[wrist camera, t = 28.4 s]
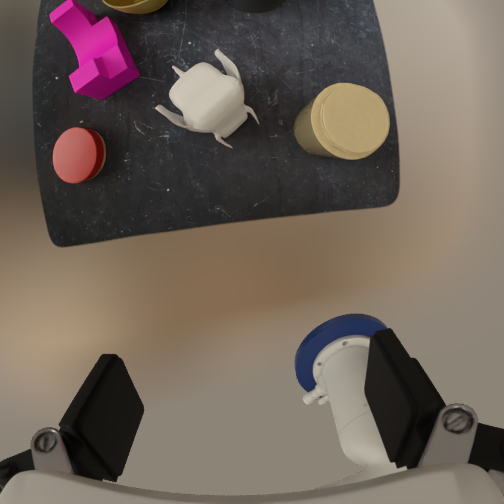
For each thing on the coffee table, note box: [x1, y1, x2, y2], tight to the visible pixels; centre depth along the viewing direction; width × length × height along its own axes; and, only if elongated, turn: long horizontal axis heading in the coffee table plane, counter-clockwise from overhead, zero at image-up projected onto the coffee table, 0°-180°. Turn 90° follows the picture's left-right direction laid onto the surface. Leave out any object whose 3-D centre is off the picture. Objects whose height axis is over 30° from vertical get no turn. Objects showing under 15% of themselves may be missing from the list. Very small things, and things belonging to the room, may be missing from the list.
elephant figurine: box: [155, 49, 259, 148], centre depth 30 cm, size 10×12×9 cm
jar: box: [294, 83, 390, 159], centre depth 29 cm, size 7×7×14 cm
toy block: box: [49, 0, 140, 100], centre depth 28 cm, size 15×6×8 cm, turn 25°
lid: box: [53, 127, 104, 183], centre depth 35 cm, size 8×8×2 cm
